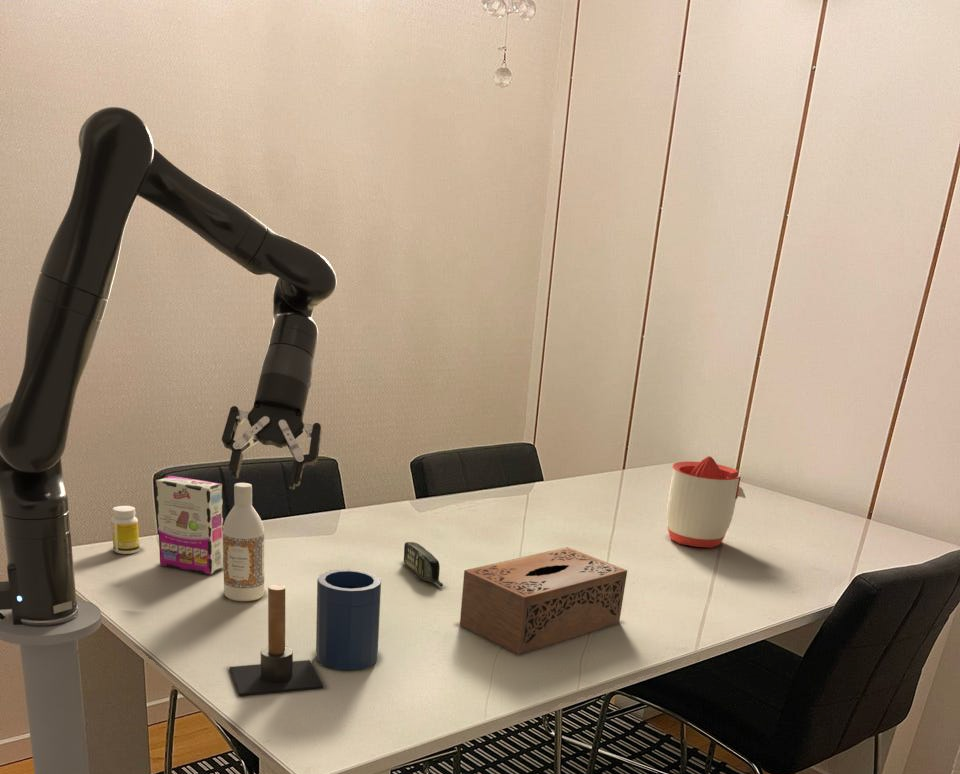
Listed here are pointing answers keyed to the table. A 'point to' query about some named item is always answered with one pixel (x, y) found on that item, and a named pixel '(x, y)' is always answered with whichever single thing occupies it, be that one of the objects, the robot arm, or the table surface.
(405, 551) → the mobile phone
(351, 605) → the blue pen holder
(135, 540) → the supplement bottle
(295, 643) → the table surface
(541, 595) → the tissue box cover
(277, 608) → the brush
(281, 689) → the mat
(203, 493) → the candy bar box
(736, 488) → the citrus juicer
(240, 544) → the bath foam
